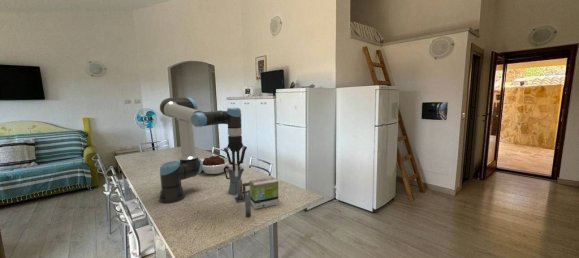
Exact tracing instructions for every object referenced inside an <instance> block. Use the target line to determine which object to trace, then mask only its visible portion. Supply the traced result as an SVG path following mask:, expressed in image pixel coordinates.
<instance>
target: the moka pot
mask: <svg viewBox="0 0 579 258" xmlns="http://www.w3.org/2000/svg"><path fill="white" fill-rule="evenodd" d="M225 169H226V170H225ZM227 170H228V173H227ZM244 171H245V169H244V167H243V166H240V170H238V176H237V177H235V171H233V165H230V166H229V165H228V166H225V168H224V172H223V173H224V174H225V179H226V180H229V186H228V194H229V195H238V189H237V180H242V175H243V172H244Z"/></svg>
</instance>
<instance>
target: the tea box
mask: <svg viewBox="0 0 579 258" xmlns="http://www.w3.org/2000/svg"><path fill="white" fill-rule="evenodd" d="M249 182H250V186H249V191H250V197H251V206H252V208H254V209H255V210H258V209H260V208H261V209H262V208H267V207H272V206H275V205H276V206H277V205H279V181H278V180H277V179H275V178H274V177H272V176H270V177H264V178H257V179H252V180H249Z"/></svg>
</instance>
